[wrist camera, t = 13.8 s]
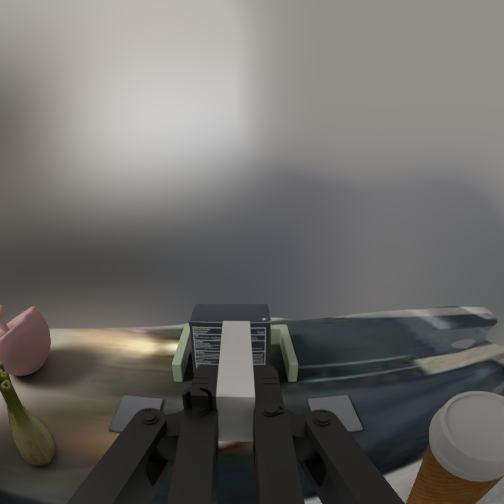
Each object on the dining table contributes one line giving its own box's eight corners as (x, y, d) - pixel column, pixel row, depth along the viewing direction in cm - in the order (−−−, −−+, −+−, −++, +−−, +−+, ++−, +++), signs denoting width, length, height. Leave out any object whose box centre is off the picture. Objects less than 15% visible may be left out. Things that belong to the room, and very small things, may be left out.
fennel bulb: (26, 439, 26) (-12, 357, 23) (60, 437, 28) (27, 354, 25) (23, 472, 21) (-25, 388, 18) (61, 472, 23) (18, 387, 20)
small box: (268, 363, 48) (270, 302, 45) (270, 389, 42) (273, 322, 39) (199, 362, 48) (195, 301, 45) (193, 387, 41) (187, 321, 39)
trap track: (109, 430, 31) (103, 413, 30) (151, 338, 54) (150, 323, 54) (362, 430, 32) (367, 413, 31) (320, 338, 55) (321, 323, 55)
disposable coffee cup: (407, 464, 26) (443, 379, 23) (480, 480, 20) (531, 396, 17) (375, 529, 18) (422, 452, 15) (462, 549, 13) (536, 472, 10)
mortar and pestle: (12, 350, 44) (-4, 291, 41) (66, 352, 46) (52, 290, 44) (-14, 386, 32) (-39, 320, 30) (46, 393, 35) (23, 322, 32)
